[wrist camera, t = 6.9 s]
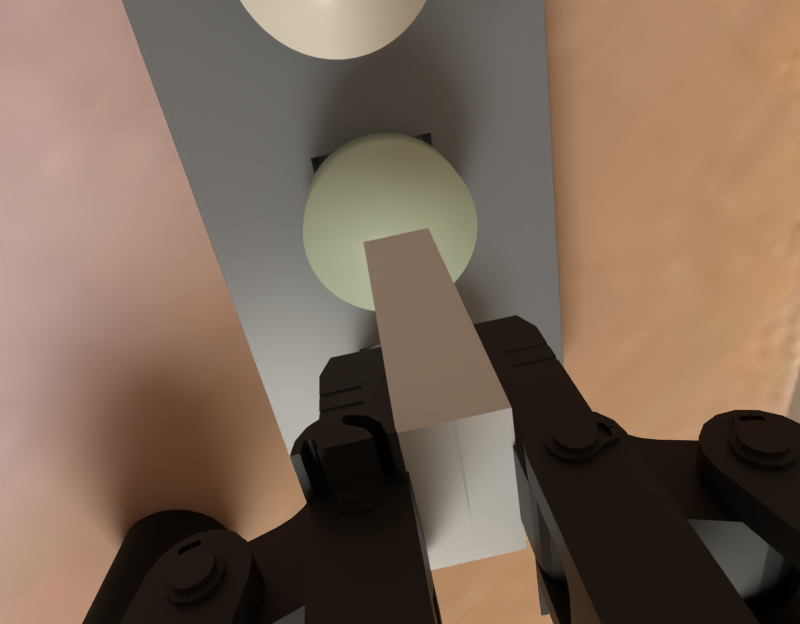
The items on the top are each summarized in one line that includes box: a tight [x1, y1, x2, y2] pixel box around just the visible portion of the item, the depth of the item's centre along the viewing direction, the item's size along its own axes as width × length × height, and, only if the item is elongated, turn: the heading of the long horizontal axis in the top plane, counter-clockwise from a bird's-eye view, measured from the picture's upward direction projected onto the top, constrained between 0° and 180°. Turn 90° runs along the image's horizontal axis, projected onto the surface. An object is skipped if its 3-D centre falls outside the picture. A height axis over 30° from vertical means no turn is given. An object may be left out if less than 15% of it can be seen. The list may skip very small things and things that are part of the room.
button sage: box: [303, 133, 477, 311], centre depth 19 cm, size 5×5×4 cm
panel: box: [122, 0, 563, 475], centre depth 21 cm, size 23×12×3 cm, turn 10°
